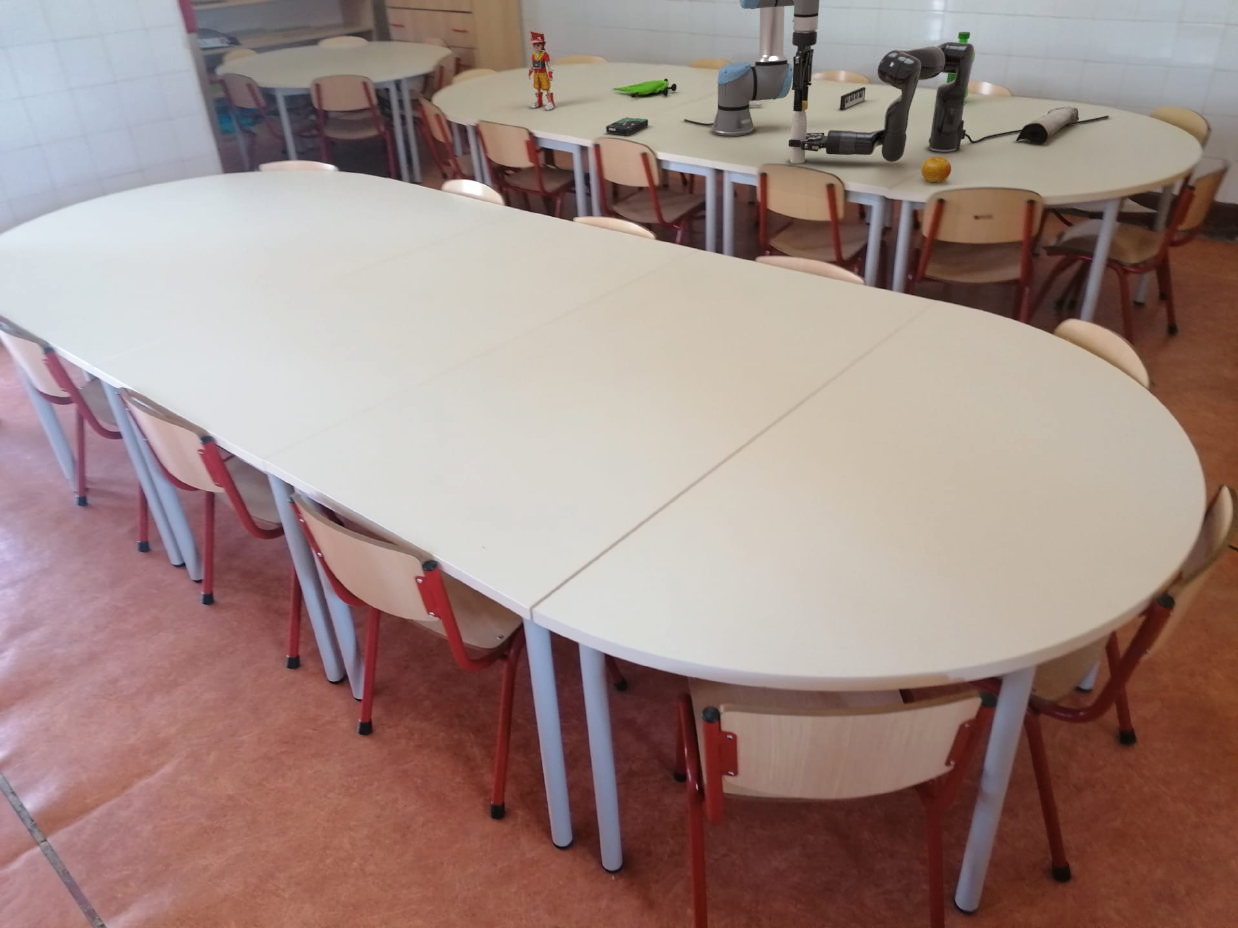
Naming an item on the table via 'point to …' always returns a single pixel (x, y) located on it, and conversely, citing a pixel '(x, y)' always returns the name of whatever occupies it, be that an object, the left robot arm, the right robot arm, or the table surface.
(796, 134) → the bottle
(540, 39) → the toy
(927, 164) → the fruit
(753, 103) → the anatomical model
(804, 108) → the cap
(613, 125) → the disk drive
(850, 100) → the midi keyboard
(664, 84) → the toy
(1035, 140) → the rolled mat
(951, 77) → the plastic bottle
